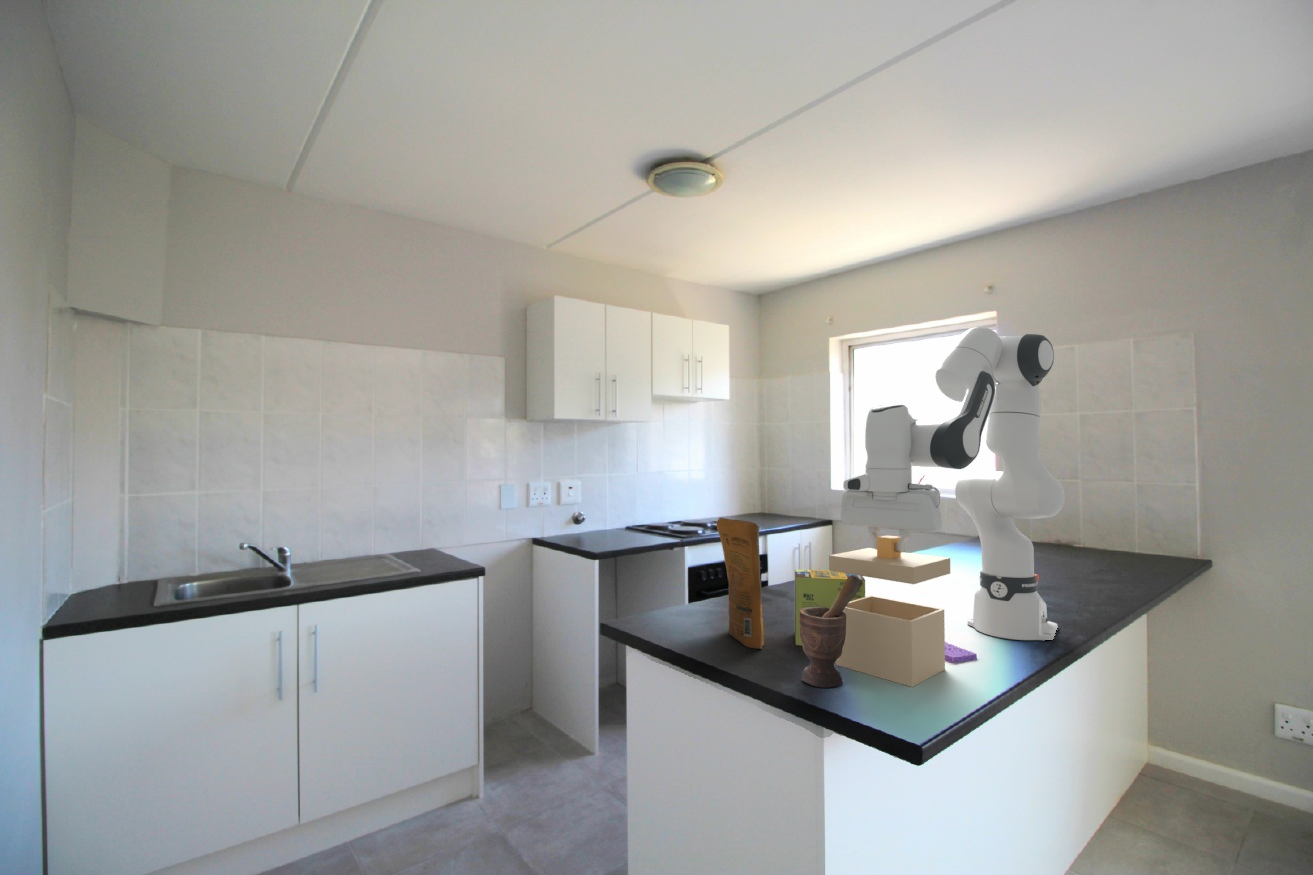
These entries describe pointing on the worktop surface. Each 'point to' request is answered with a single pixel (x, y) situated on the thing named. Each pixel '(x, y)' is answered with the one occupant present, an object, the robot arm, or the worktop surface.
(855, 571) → the carton lid
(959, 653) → the sponges
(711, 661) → the worktop surface
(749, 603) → the pancake mix bag
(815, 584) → the protein box
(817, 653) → the mortar and pestle
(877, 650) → the carton
